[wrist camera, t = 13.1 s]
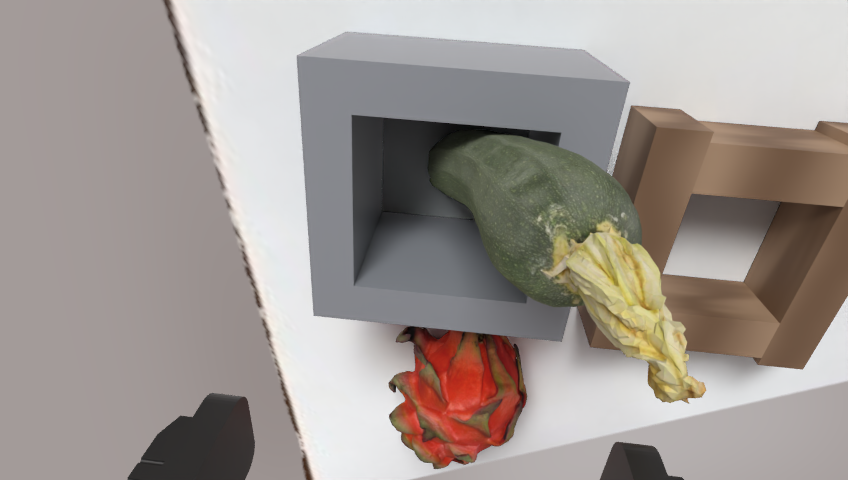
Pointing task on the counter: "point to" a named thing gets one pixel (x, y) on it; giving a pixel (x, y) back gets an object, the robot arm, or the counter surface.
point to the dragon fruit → (458, 395)
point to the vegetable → (567, 242)
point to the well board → (782, 246)
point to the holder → (417, 234)
